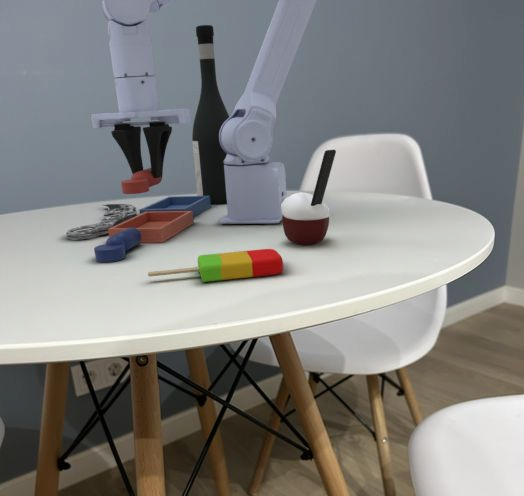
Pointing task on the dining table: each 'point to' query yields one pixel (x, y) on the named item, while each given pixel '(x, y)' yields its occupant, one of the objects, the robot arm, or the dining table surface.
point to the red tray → (156, 225)
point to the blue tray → (180, 204)
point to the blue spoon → (118, 245)
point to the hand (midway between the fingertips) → (148, 177)
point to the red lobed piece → (140, 182)
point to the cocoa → (308, 209)
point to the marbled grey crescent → (104, 222)
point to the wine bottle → (209, 125)
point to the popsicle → (233, 265)
